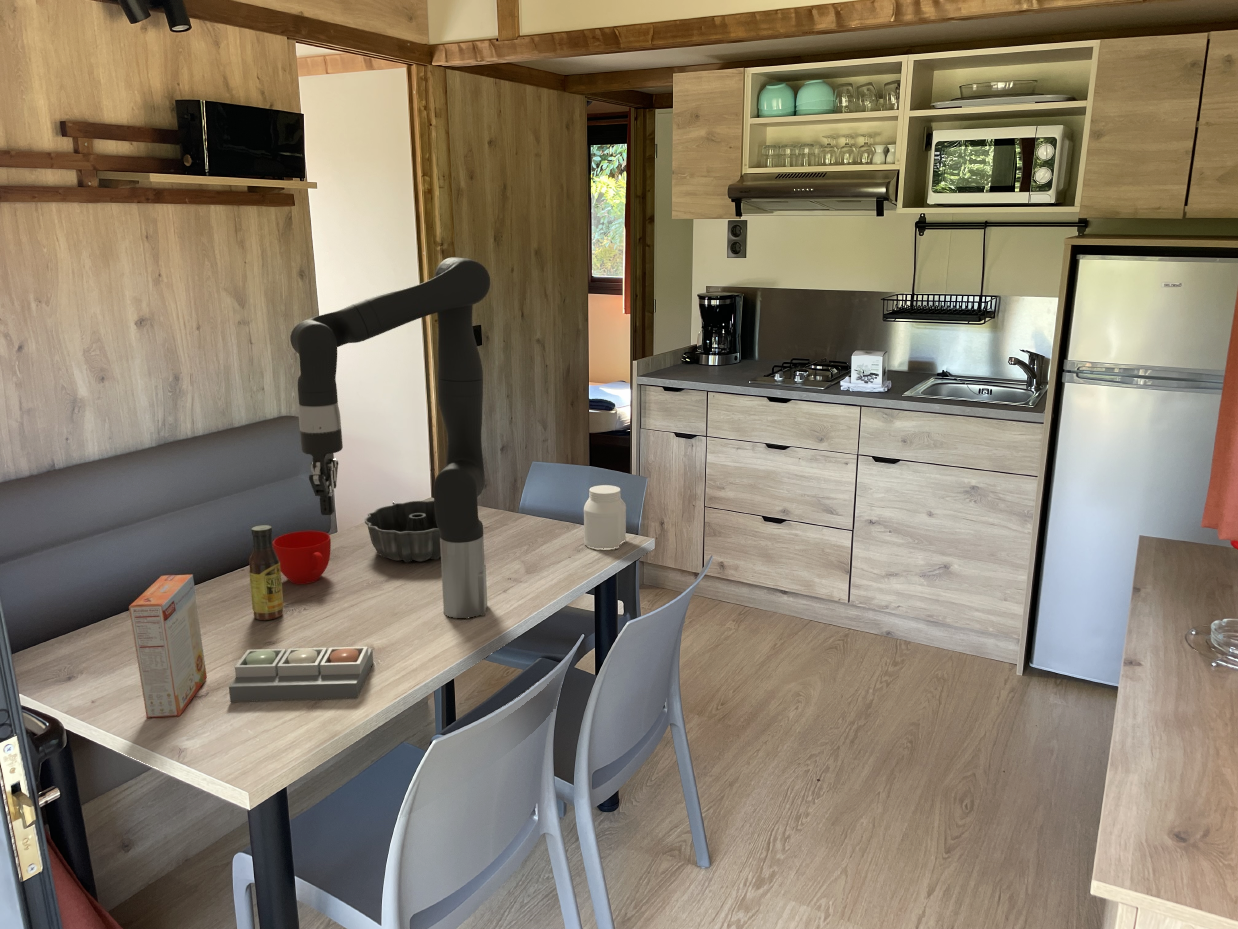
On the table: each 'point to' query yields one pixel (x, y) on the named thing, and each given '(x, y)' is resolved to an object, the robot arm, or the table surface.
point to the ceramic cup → (303, 555)
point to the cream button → (303, 657)
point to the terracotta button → (344, 656)
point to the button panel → (300, 677)
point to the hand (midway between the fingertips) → (327, 513)
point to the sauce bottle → (265, 576)
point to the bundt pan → (405, 531)
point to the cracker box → (168, 645)
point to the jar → (604, 517)
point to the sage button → (261, 658)
